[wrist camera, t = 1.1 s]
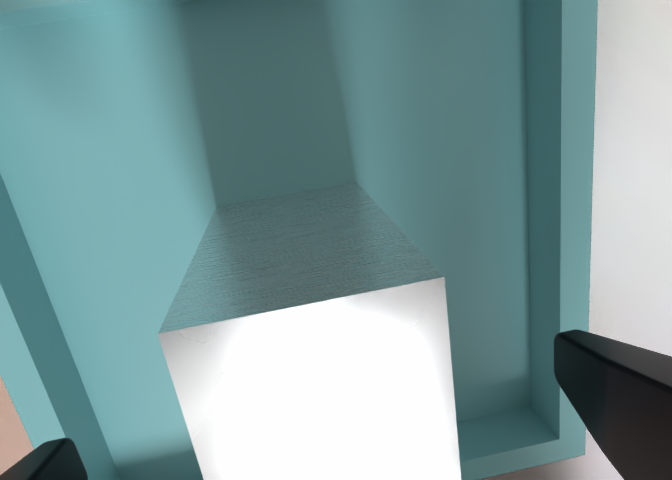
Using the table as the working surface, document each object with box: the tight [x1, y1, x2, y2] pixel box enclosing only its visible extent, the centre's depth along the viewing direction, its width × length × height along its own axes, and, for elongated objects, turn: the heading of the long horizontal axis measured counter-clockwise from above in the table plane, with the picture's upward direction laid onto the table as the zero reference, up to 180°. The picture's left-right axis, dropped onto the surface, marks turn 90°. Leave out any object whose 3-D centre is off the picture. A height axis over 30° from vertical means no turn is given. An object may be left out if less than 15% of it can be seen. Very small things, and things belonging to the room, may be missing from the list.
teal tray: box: [0, 0, 598, 480], centre depth 15 cm, size 18×18×2 cm
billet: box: [158, 182, 461, 480], centre depth 12 cm, size 4×4×8 cm
